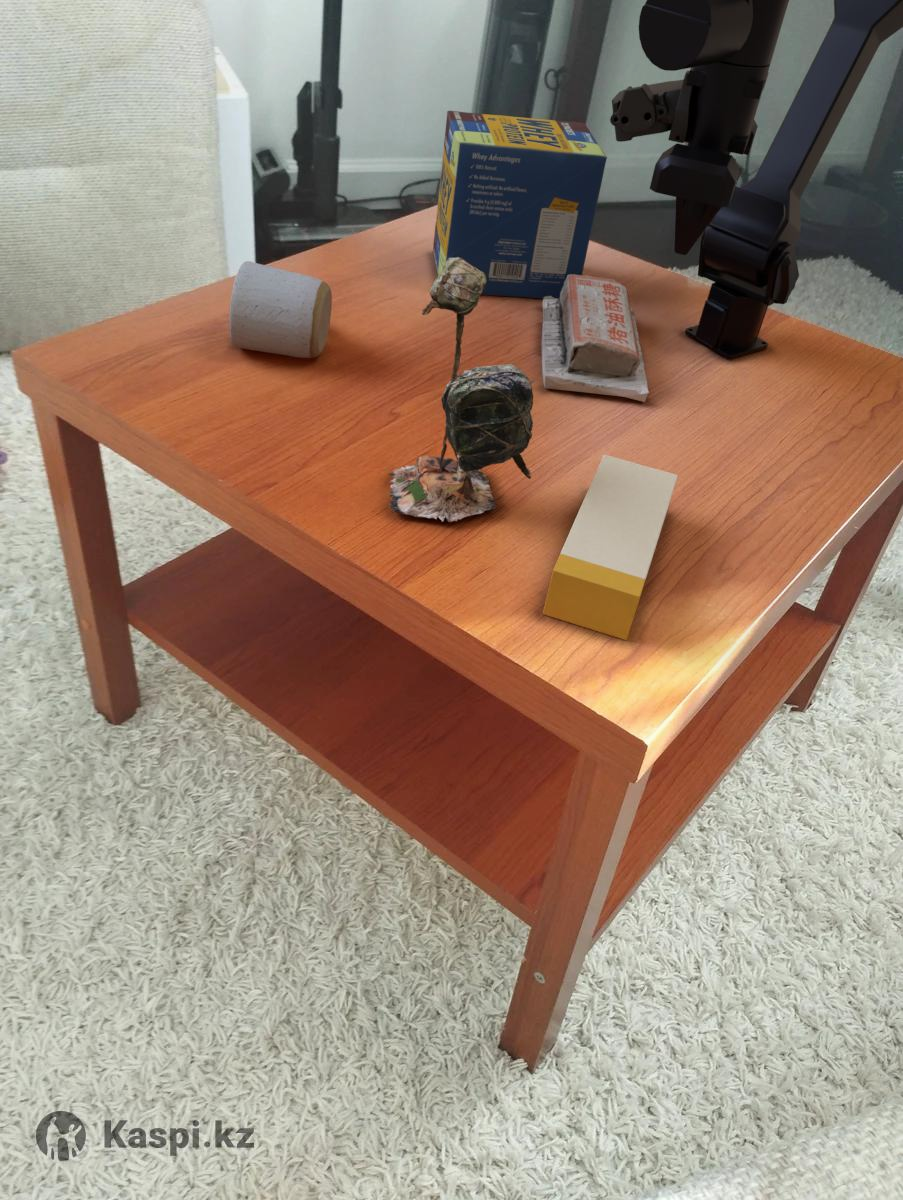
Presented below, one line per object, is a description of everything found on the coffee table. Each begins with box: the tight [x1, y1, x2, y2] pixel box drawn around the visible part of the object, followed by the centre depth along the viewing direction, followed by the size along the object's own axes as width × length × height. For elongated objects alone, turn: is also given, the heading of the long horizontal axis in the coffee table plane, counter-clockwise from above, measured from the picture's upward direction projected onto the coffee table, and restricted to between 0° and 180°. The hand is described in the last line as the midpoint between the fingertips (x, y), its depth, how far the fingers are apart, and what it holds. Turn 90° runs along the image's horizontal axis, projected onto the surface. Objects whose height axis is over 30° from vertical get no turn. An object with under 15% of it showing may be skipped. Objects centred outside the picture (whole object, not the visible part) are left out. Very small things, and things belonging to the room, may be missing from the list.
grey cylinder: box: [228, 260, 333, 359], centre depth 92 cm, size 11×8×8 cm
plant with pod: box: [387, 257, 535, 523], centre depth 72 cm, size 8×11×20 cm
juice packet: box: [542, 454, 679, 641], centre depth 73 cm, size 4×6×16 cm
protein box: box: [432, 110, 608, 300], centre depth 106 cm, size 10×15×16 cm
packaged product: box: [541, 274, 650, 403], centre depth 98 cm, size 18×5×10 cm
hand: (680, 252), depth 88 cm, fingers closed
